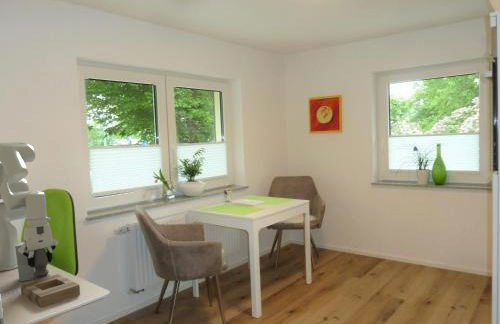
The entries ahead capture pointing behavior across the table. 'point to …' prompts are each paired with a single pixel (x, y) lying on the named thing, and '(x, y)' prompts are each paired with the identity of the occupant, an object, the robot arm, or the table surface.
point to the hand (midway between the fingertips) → (40, 263)
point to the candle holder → (40, 260)
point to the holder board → (50, 290)
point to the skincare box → (24, 265)
